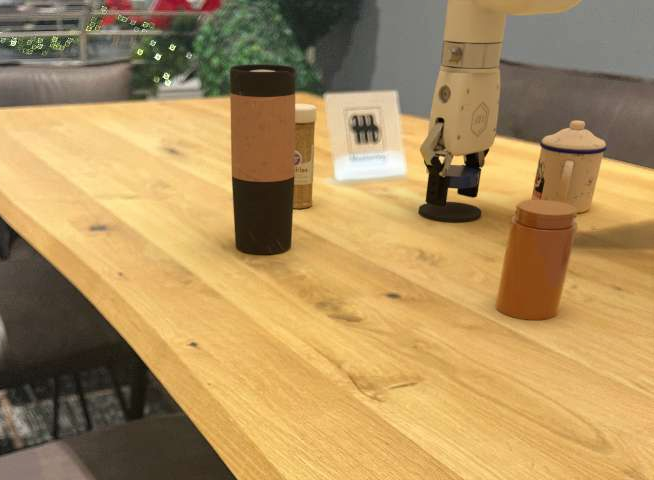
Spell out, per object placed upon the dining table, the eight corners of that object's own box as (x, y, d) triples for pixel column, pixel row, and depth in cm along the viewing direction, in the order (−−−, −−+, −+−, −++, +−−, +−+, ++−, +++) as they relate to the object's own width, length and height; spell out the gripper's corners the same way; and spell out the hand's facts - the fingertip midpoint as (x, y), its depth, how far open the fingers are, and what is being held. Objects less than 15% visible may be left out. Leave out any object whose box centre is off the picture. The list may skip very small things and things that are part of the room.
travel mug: (224, 242, 99) (218, 65, 87) (276, 234, 102) (277, 62, 90) (249, 259, 93) (246, 73, 82) (303, 250, 96) (308, 70, 85)
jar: (544, 297, 84) (566, 198, 78) (566, 319, 79) (591, 215, 73) (488, 298, 83) (505, 199, 77) (506, 320, 78) (526, 216, 72)
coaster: (473, 205, 115) (474, 201, 114) (487, 222, 107) (488, 218, 107) (414, 205, 115) (414, 201, 114) (423, 222, 107) (424, 217, 107)
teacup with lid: (531, 196, 119) (547, 114, 113) (592, 202, 117) (612, 118, 110) (524, 216, 110) (541, 128, 103) (590, 222, 108) (612, 132, 101)
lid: (449, 174, 112) (450, 162, 111) (487, 183, 108) (489, 171, 107) (419, 181, 109) (420, 169, 108) (458, 191, 105) (459, 179, 104)
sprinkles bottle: (281, 208, 112) (282, 107, 104) (284, 200, 116) (285, 102, 108) (312, 209, 112) (315, 108, 104) (314, 201, 116) (317, 103, 108)
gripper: (454, 64, 92) (435, 216, 103) (532, 55, 102) (507, 195, 112) (405, 59, 97) (392, 205, 107) (484, 51, 107) (465, 185, 117)
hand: (451, 199), depth 110 cm, fingers closed on lid, 6 cm apart
